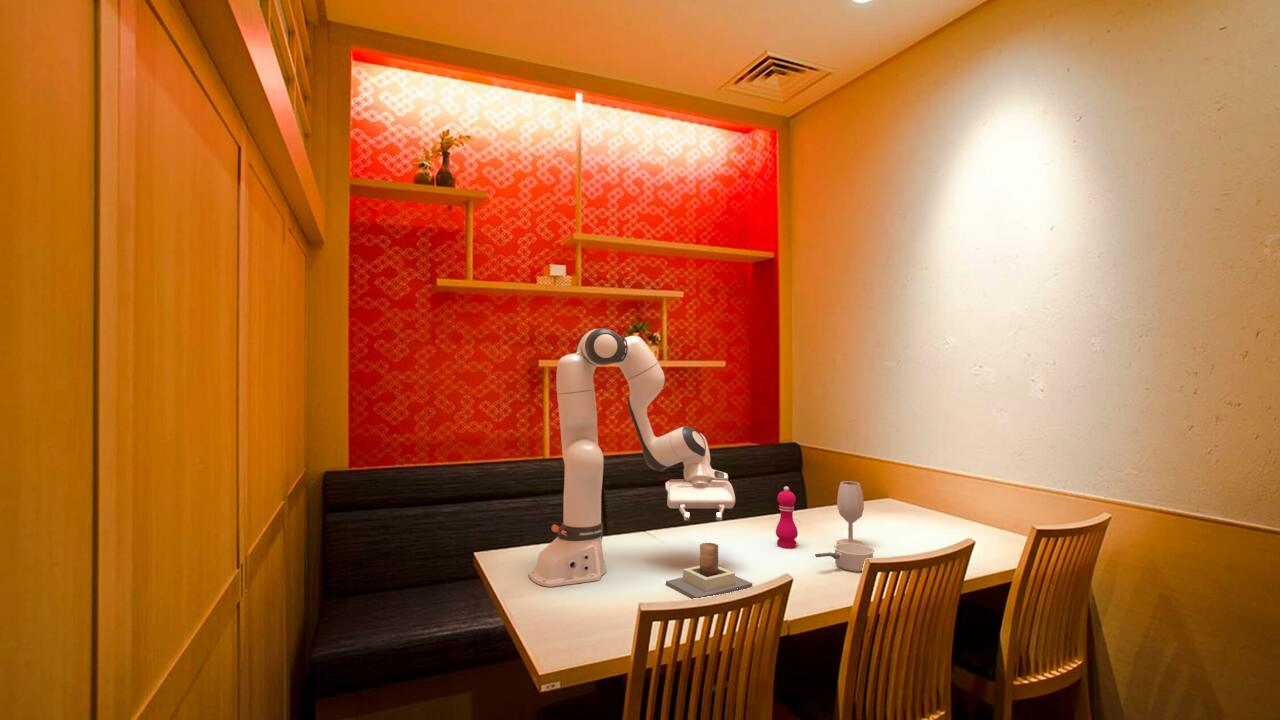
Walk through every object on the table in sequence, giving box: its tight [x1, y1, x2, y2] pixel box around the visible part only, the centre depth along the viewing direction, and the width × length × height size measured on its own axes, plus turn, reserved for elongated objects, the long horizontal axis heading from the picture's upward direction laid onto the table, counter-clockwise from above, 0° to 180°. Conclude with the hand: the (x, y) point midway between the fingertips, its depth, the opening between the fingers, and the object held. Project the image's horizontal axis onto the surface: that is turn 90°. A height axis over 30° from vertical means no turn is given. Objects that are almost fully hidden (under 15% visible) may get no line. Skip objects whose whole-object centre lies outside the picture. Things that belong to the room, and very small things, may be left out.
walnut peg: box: [699, 542, 719, 577], centre depth 162 cm, size 5×5×10 cm
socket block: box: [665, 565, 753, 600], centre depth 162 cm, size 19×14×4 cm
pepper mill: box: [775, 485, 799, 549], centre depth 200 cm, size 7×7×20 cm
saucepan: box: [814, 543, 875, 573], centre depth 176 cm, size 12×20×6 cm, turn 114°
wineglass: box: [836, 481, 866, 546], centre depth 201 cm, size 9×9×21 cm
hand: (703, 519), depth 171 cm, fingers open, 8 cm apart
